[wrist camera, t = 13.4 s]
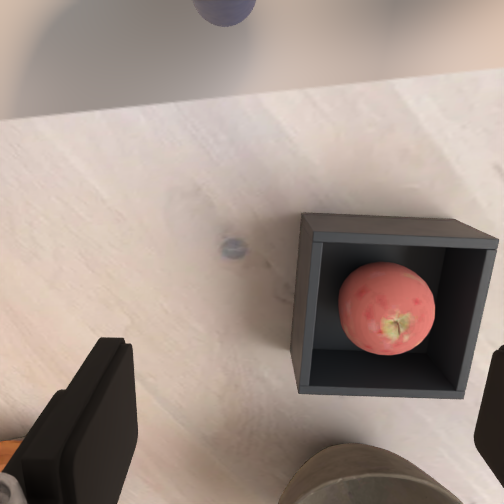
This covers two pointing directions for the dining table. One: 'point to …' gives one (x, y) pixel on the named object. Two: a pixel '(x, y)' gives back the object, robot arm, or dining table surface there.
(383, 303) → the apple
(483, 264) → the bin
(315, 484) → the bowl
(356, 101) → the dining table surface
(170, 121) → the dining table surface
